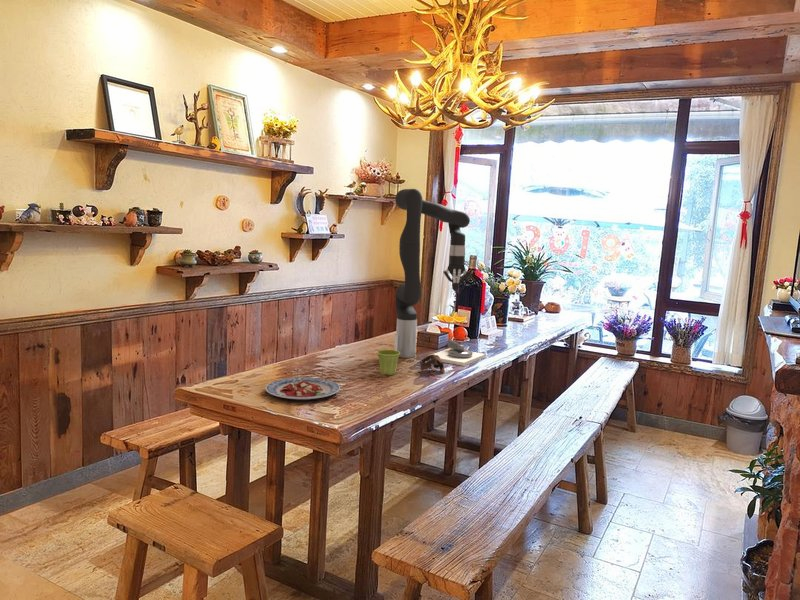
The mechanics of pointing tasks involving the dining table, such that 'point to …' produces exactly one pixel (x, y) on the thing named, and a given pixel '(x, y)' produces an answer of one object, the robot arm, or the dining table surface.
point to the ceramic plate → (302, 388)
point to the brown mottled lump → (434, 360)
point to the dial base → (456, 360)
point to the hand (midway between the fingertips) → (455, 290)
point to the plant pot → (388, 361)
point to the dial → (458, 350)
